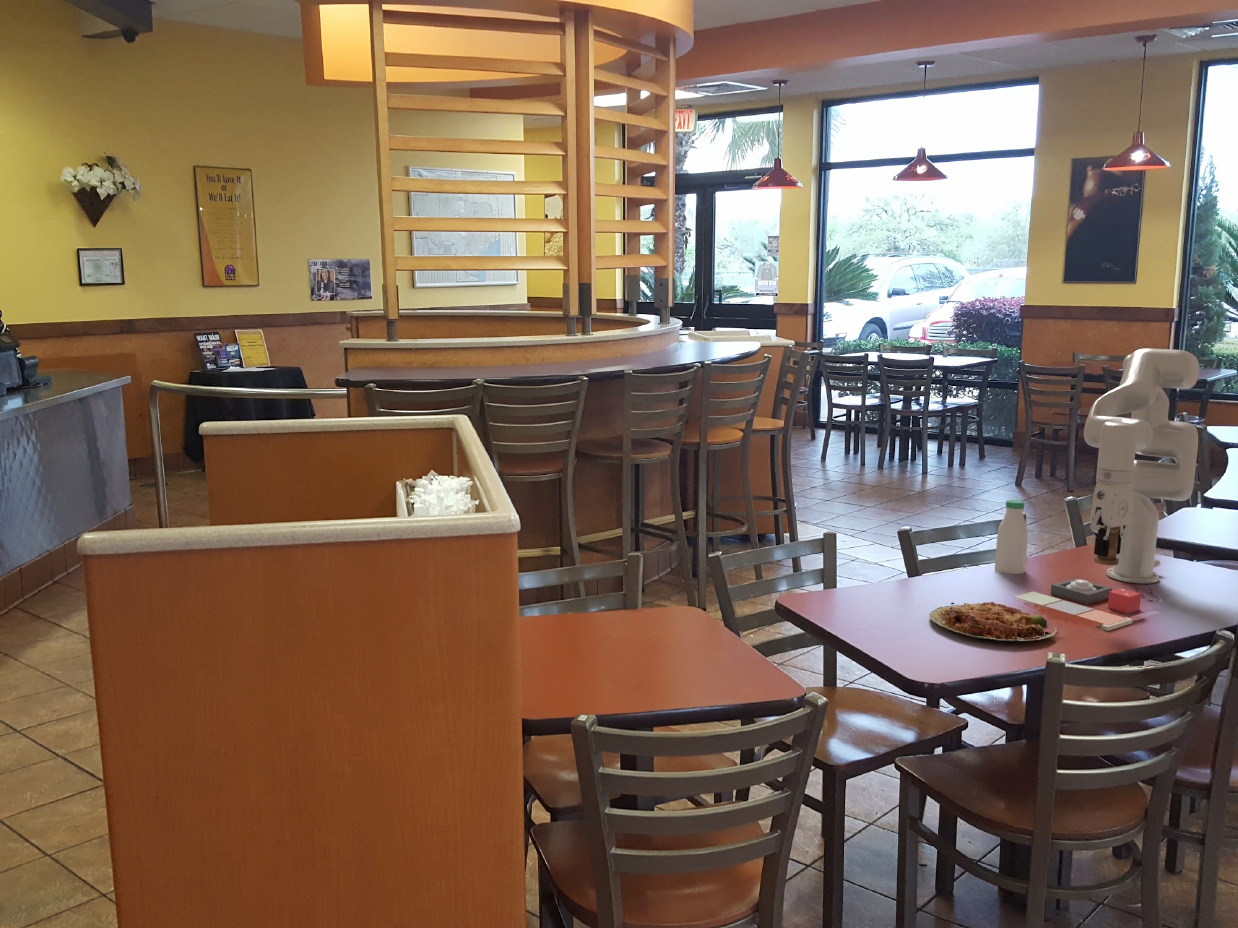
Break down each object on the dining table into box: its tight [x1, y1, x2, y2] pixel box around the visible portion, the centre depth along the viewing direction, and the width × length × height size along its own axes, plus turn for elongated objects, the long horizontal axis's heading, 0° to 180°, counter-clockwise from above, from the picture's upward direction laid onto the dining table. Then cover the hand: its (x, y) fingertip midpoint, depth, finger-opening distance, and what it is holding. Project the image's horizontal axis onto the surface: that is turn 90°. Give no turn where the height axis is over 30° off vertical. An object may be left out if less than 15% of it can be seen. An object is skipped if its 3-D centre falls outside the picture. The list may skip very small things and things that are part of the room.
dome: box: [1066, 579, 1097, 593], centre depth 263 cm, size 7×7×3 cm
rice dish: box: [929, 601, 1058, 642], centre depth 242 cm, size 28×28×5 cm
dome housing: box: [1050, 577, 1113, 605], centre depth 263 cm, size 10×10×4 cm
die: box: [1107, 587, 1142, 618], centre depth 253 cm, size 5×5×5 cm
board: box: [1013, 591, 1134, 632], centre depth 254 cm, size 10×26×1 cm, turn 34°
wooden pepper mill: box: [1093, 522, 1120, 566], centre depth 244 cm, size 5×5×11 cm
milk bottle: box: [994, 499, 1029, 575], centre depth 284 cm, size 8×8×20 cm
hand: (1107, 553), depth 244 cm, fingers closed on wooden pepper mill, 4 cm apart
